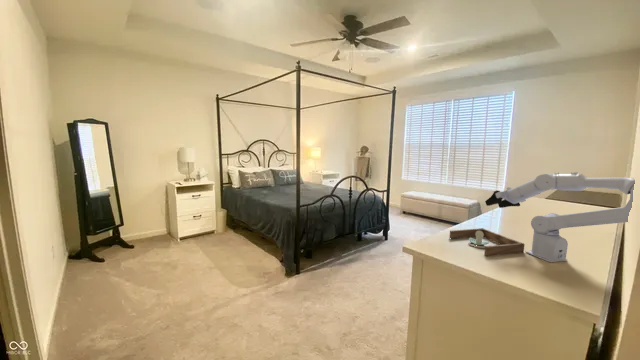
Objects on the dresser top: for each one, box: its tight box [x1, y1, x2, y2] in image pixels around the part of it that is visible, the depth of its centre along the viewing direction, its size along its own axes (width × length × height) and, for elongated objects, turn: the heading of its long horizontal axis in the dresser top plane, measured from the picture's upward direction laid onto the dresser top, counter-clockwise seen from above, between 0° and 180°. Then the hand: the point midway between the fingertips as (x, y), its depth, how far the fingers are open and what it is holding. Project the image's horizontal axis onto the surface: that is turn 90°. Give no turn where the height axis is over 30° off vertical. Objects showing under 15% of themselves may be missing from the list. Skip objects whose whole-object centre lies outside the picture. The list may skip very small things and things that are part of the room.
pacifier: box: [468, 231, 490, 249], centre depth 111 cm, size 7×6×6 cm
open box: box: [449, 227, 525, 257], centre depth 112 cm, size 20×17×4 cm
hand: (492, 204), depth 118 cm, fingers open, 7 cm apart
